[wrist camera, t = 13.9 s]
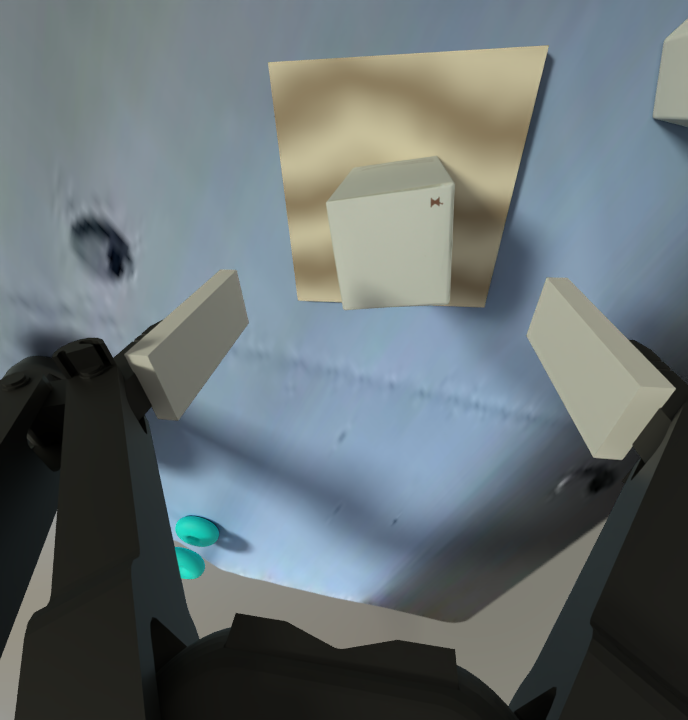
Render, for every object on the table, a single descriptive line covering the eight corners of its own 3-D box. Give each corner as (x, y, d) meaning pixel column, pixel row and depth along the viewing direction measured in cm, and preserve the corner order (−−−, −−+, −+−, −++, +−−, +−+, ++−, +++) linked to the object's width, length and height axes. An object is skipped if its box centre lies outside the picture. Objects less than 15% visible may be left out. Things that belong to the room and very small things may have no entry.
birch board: (482, 302, 36) (484, 307, 35) (300, 295, 38) (298, 300, 37) (542, 48, 24) (548, 45, 23) (273, 64, 26) (268, 62, 25)
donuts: (181, 560, 66) (209, 581, 71) (205, 512, 74) (229, 534, 79) (144, 560, 69) (174, 581, 75) (171, 514, 77) (196, 536, 82)
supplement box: (350, 165, 29) (322, 196, 19) (439, 153, 27) (460, 179, 17) (359, 251, 33) (340, 312, 23) (436, 244, 32) (452, 306, 22)
